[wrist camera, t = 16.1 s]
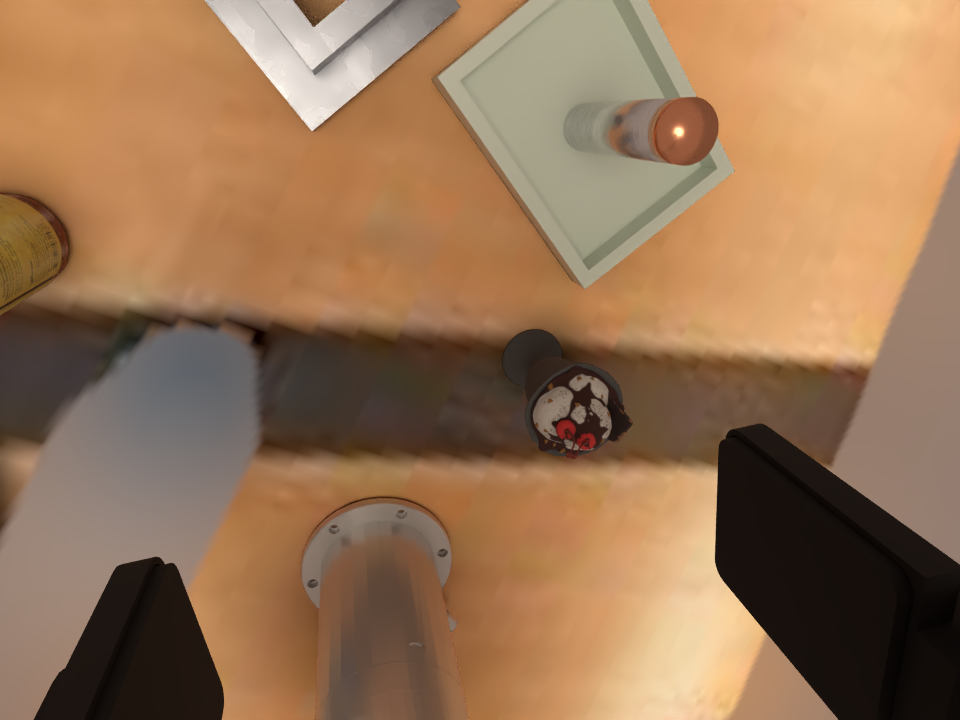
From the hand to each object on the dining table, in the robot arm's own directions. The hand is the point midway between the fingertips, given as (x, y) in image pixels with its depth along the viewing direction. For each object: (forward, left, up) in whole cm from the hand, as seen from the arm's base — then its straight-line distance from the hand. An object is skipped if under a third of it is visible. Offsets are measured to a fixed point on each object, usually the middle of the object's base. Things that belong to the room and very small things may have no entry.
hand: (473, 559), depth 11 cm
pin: (-4, -16, -36) cm, 39 cm away
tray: (-4, -16, -36) cm, 40 cm away
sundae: (-16, -3, -36) cm, 40 cm away
